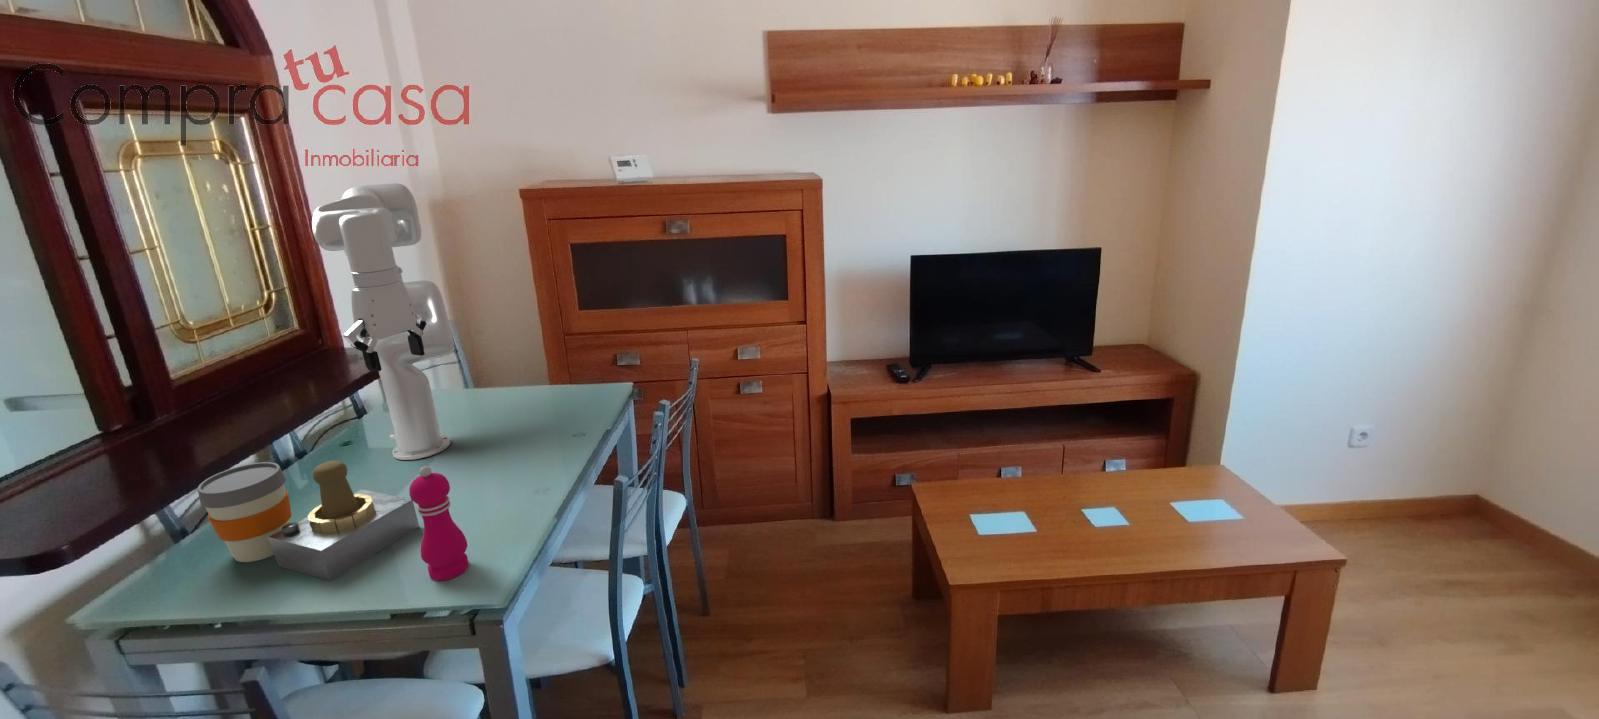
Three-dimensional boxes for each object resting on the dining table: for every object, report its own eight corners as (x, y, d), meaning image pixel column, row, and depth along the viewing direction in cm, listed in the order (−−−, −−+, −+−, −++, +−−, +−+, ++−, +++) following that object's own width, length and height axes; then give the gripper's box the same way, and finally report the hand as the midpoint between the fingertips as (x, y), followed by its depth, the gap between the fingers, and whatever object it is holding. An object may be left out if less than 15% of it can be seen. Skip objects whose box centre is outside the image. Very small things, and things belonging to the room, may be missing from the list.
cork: (369, 510, 130) (355, 457, 127) (341, 528, 125) (325, 473, 122) (344, 507, 132) (329, 455, 129) (315, 524, 127) (299, 470, 123)
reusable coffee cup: (204, 569, 125) (176, 496, 121) (255, 531, 137) (232, 463, 133) (273, 566, 125) (248, 492, 120) (318, 528, 137) (297, 459, 132)
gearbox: (278, 565, 125) (265, 527, 123) (369, 515, 141) (359, 480, 138) (330, 580, 120) (317, 540, 117) (419, 526, 136) (410, 490, 133)
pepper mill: (436, 560, 124) (411, 459, 118) (478, 556, 125) (455, 455, 119) (419, 584, 117) (391, 479, 111) (463, 580, 118) (437, 475, 112)
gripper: (402, 268, 142) (421, 347, 148) (319, 287, 127) (343, 375, 133) (428, 269, 139) (446, 350, 145) (346, 289, 124) (369, 379, 130)
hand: (397, 362), depth 139 cm, fingers open, 9 cm apart
